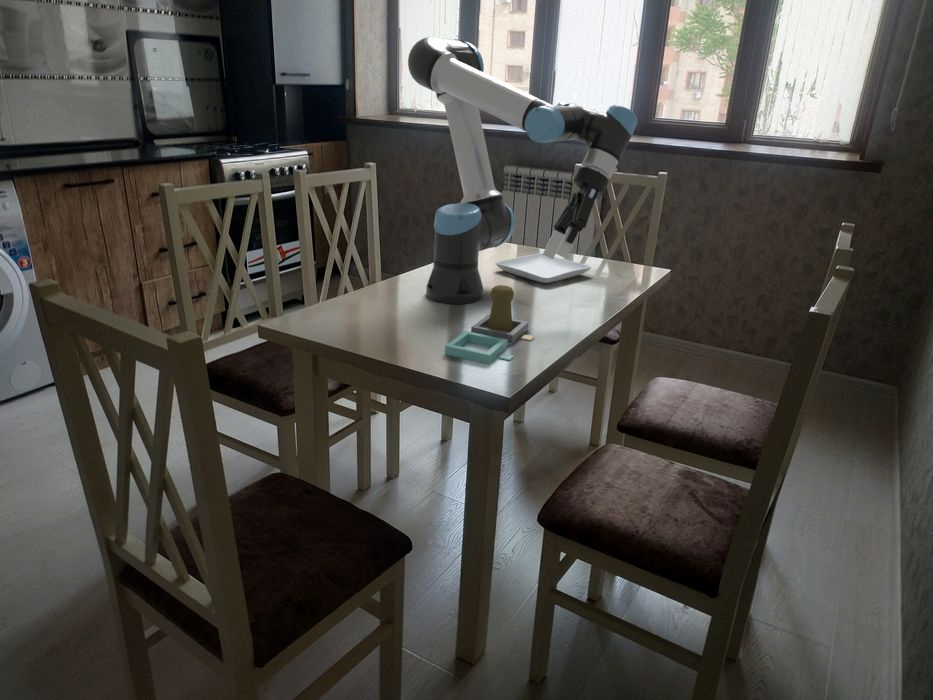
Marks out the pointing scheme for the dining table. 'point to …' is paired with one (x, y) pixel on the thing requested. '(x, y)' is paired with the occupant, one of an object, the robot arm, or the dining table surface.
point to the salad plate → (543, 268)
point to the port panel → (487, 341)
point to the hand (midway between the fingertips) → (554, 256)
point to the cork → (501, 308)
